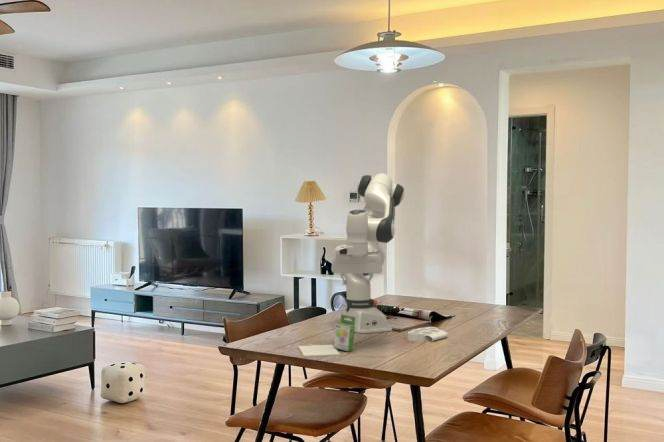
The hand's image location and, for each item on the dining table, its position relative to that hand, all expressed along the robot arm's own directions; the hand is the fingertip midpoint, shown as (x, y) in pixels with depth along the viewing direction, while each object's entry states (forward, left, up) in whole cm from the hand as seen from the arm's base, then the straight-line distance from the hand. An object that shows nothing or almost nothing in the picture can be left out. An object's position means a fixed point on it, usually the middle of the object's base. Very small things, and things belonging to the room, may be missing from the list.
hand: (356, 284), depth 263 cm
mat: (+16, +3, -26) cm, 30 cm away
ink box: (+6, +3, -26) cm, 26 cm away
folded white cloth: (-34, -13, -26) cm, 45 cm away
